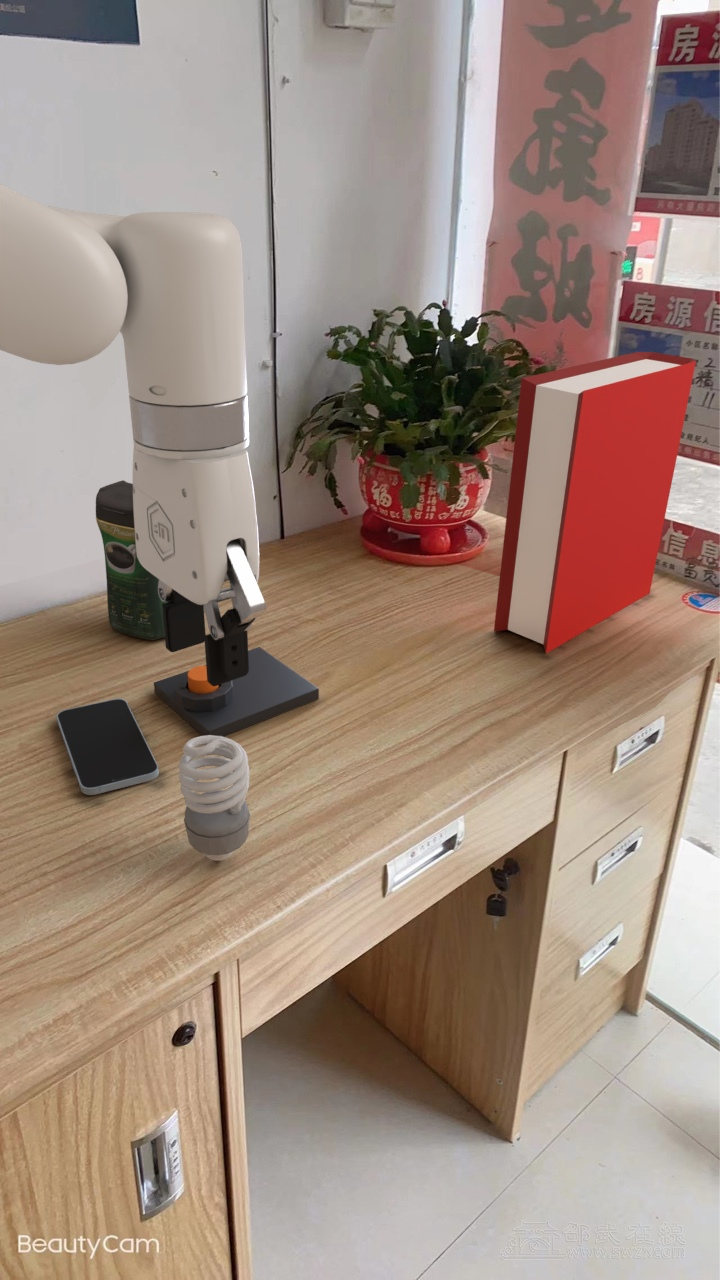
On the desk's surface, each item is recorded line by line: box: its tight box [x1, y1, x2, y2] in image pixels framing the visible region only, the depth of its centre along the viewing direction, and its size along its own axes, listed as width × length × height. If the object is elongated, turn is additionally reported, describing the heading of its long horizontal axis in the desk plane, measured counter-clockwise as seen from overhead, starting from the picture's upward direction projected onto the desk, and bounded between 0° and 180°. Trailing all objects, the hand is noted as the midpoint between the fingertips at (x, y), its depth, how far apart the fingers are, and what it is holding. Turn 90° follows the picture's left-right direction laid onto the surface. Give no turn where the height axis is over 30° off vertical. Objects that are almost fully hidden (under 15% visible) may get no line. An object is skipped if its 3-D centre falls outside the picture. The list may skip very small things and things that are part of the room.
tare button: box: [188, 665, 219, 694], centre depth 94 cm, size 3×3×2 cm
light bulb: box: [178, 735, 251, 862], centre depth 73 cm, size 6×6×12 cm
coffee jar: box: [95, 480, 167, 641], centre depth 108 cm, size 10×8×19 cm
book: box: [493, 351, 697, 654], centre depth 112 cm, size 27×8×32 cm, turn 135°
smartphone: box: [56, 698, 160, 796], centre depth 89 cm, size 7×1×15 cm
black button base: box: [153, 646, 320, 737], centre depth 98 cm, size 14×12×3 cm
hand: (206, 660), depth 66 cm, fingers open, 5 cm apart
